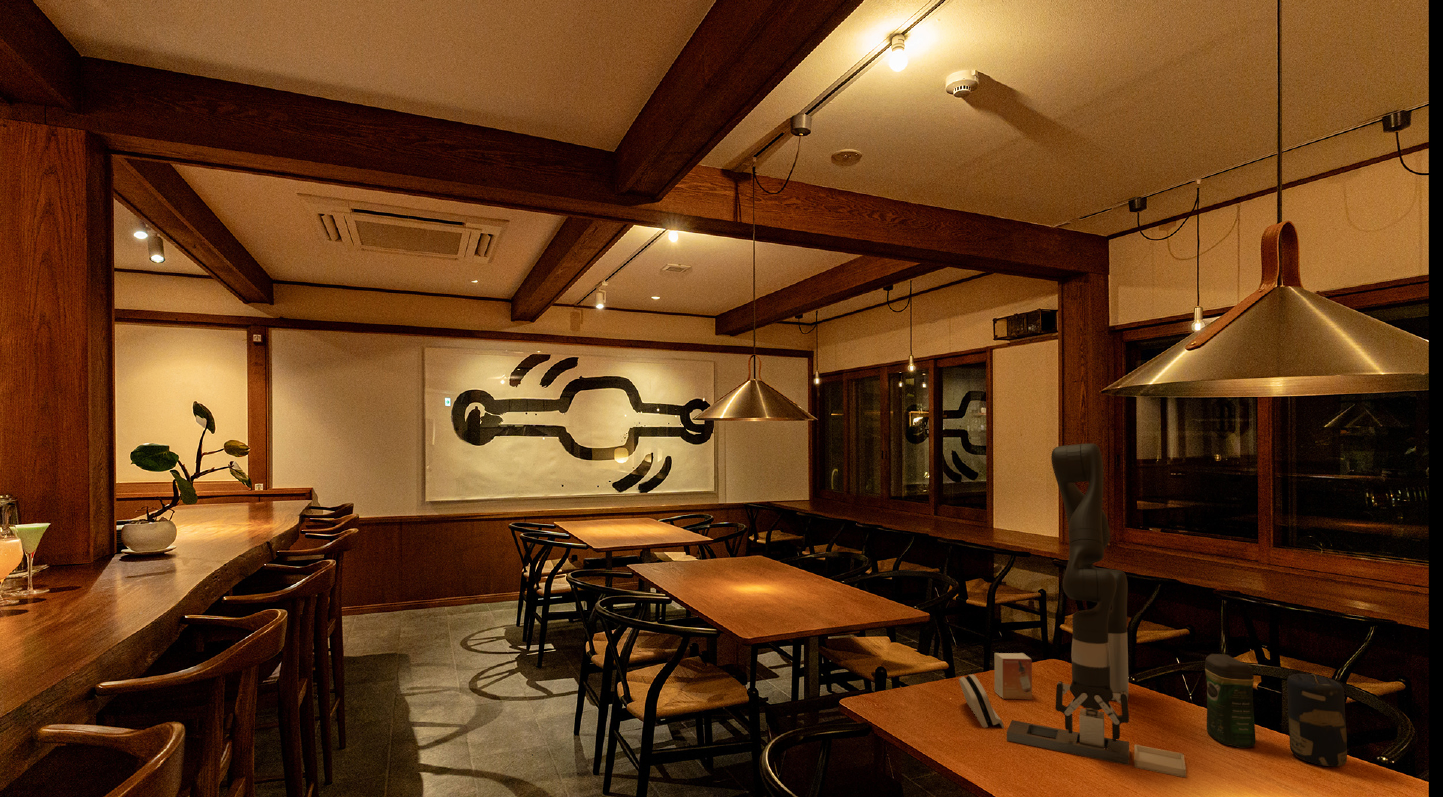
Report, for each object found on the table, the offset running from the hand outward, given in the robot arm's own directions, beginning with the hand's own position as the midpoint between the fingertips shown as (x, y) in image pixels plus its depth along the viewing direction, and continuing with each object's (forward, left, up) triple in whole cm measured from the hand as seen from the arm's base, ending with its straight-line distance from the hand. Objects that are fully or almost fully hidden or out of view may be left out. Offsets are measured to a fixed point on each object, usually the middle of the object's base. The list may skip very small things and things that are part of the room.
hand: (1092, 736), depth 158 cm
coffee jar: (-23, +27, -3) cm, 36 cm away
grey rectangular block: (0, 0, -3) cm, 3 cm away
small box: (-28, -20, -3) cm, 35 cm away
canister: (-20, +42, -3) cm, 47 cm away
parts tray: (0, +13, -3) cm, 13 cm away
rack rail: (0, -5, -3) cm, 6 cm away
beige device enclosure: (-9, -25, -4) cm, 27 cm away
